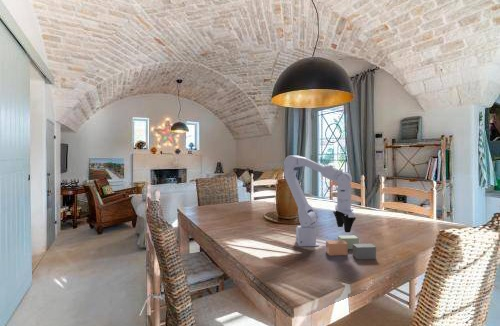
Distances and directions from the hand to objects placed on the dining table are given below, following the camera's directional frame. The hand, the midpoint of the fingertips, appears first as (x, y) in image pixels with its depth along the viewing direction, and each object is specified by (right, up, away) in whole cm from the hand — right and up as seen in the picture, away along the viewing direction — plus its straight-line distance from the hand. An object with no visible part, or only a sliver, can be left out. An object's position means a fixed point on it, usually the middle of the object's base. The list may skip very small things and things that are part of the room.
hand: (343, 229), depth 111 cm
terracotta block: (-4, -10, -3) cm, 11 cm away
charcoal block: (+6, -10, -7) cm, 13 cm away
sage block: (+3, -10, +4) cm, 11 cm away
